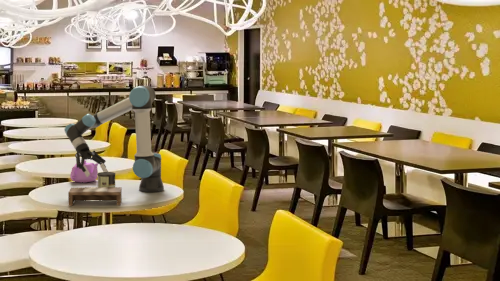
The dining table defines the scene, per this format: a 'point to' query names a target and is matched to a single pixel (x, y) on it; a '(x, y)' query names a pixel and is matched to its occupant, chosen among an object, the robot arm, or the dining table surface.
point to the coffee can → (106, 179)
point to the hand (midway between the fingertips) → (97, 174)
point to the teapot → (80, 176)
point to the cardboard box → (95, 194)
